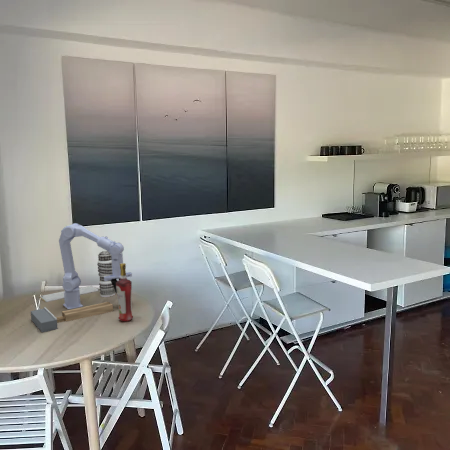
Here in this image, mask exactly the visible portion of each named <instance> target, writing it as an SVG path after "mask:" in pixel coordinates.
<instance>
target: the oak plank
mask: <svg viewBox="0 0 450 450" xmlns="http://www.w3.org/2000/svg"><path fill="white" fill-rule="evenodd" d="M113 305H114V304H112V303H111V302H110V301H105V302H100V303H97V304H96V303H95V304H91V305H87V306H83V307H78V308H74V309H69V310H68V309H67V310H63V311H61V316H57V317H56V316H55V317H56V318H57V324H58V323H63V322H70V321H71V322H72V321H75V320H79V319H84V318H89V317H93V316H99V315H102V314H103V315H104V314H107V313H111V312H113V311H114V306H113Z"/></svg>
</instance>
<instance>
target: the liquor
mask: <svg viewBox="0 0 450 450" xmlns="http://www.w3.org/2000/svg"><path fill="white" fill-rule="evenodd" d="M126 264H127V263H124V262H123V263H121V264H120V269H121V276H120V280H119V279H118V280H117V282H116V289H117V293H116V295H117V305H118V319H119V320H120V321H121V322H126V323H127V322H130V321H131V320H132V319H133V318H134V317H133V311H132V309H133V307H132V299H133V298H132V295H133V294H132V293H133V291H132V288H133V287H132V281H131V280H130V279H128V277H126V273H127V271H126V267H127V265H126Z"/></svg>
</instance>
